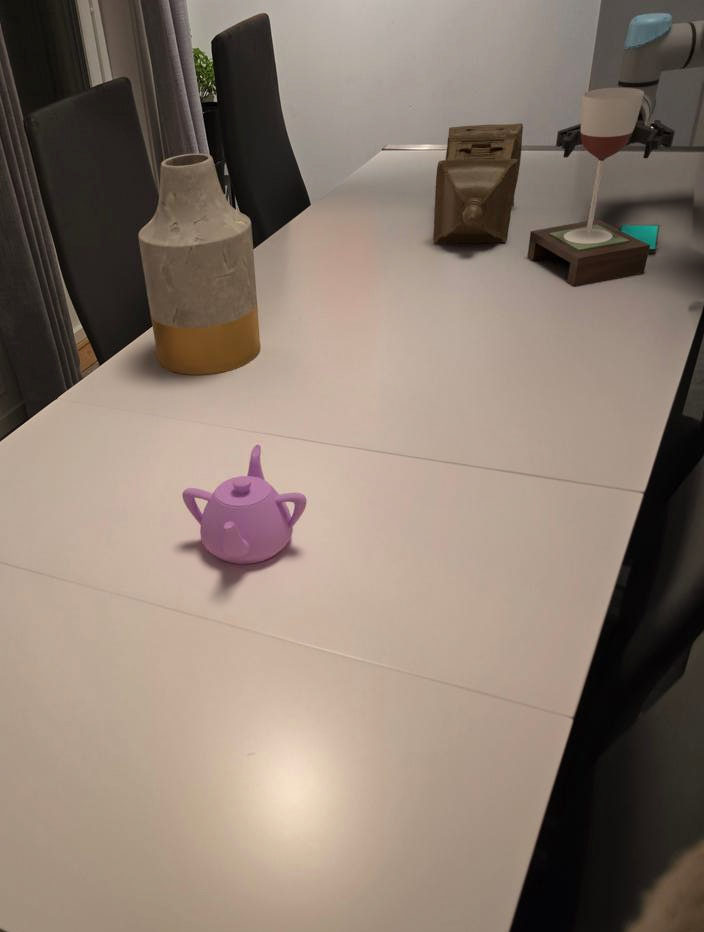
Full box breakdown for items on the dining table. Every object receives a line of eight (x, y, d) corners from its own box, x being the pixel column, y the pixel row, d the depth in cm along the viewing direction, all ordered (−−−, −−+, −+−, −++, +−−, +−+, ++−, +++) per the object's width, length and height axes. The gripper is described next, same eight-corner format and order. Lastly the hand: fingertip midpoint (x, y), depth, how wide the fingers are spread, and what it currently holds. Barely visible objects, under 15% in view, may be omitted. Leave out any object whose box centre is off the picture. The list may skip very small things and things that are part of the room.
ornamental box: (503, 272, 170) (528, 172, 156) (416, 260, 173) (433, 161, 160) (511, 215, 193) (534, 124, 180) (434, 206, 197) (451, 116, 183)
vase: (163, 382, 141) (132, 183, 121) (153, 340, 155) (123, 156, 134) (269, 364, 142) (256, 164, 122) (250, 325, 156) (235, 139, 135)
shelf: (643, 273, 155) (650, 243, 152) (573, 286, 154) (578, 257, 150) (591, 245, 168) (597, 218, 165) (526, 257, 167) (530, 229, 164)
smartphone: (659, 224, 171) (656, 249, 161) (658, 229, 171) (655, 253, 161) (620, 224, 173) (615, 248, 163) (619, 228, 174) (614, 252, 164)
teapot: (262, 502, 110) (258, 442, 104) (319, 553, 101) (317, 490, 95) (182, 532, 107) (172, 472, 101) (232, 588, 97) (225, 525, 91)
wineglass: (587, 248, 153) (614, 101, 138) (550, 235, 160) (571, 94, 145) (626, 236, 156) (656, 91, 140) (588, 224, 163) (612, 85, 147)
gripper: (690, 143, 161) (676, 173, 148) (555, 143, 171) (531, 171, 158) (701, 98, 156) (688, 125, 143) (561, 100, 166) (537, 125, 153)
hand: (606, 149), depth 150 cm, fingers open, 13 cm apart
